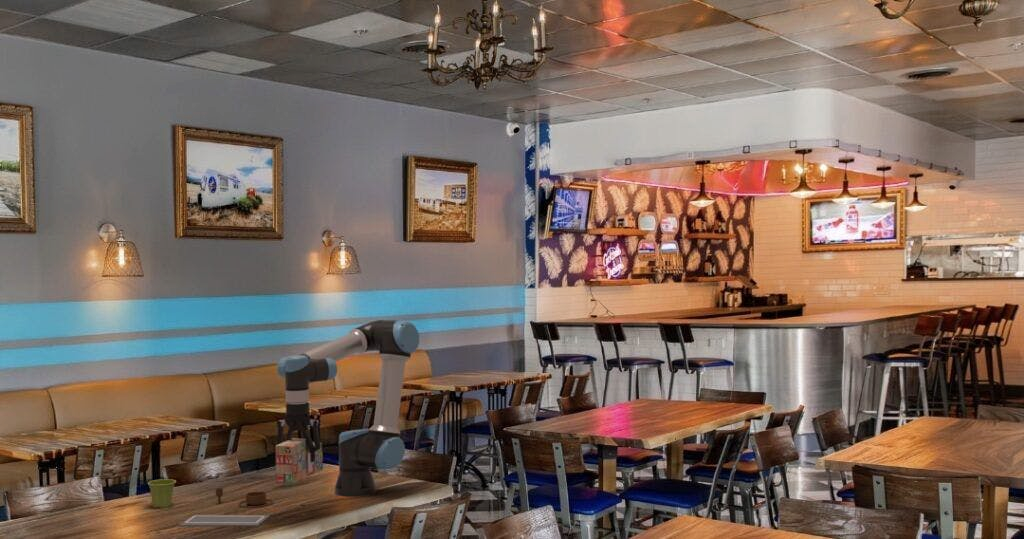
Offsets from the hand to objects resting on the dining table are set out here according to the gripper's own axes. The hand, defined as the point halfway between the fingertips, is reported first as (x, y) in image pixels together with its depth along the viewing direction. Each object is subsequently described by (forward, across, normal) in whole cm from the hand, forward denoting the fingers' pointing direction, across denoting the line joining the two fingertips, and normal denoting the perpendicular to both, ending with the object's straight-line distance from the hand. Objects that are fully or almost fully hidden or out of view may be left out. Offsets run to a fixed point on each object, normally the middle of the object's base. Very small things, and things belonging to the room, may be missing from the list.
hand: (298, 471), depth 323 cm
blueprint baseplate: (+16, +24, +3) cm, 29 cm away
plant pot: (+17, +55, -20) cm, 61 cm away
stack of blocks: (+2, 0, -1) cm, 2 cm away
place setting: (+17, +25, -23) cm, 38 cm away
